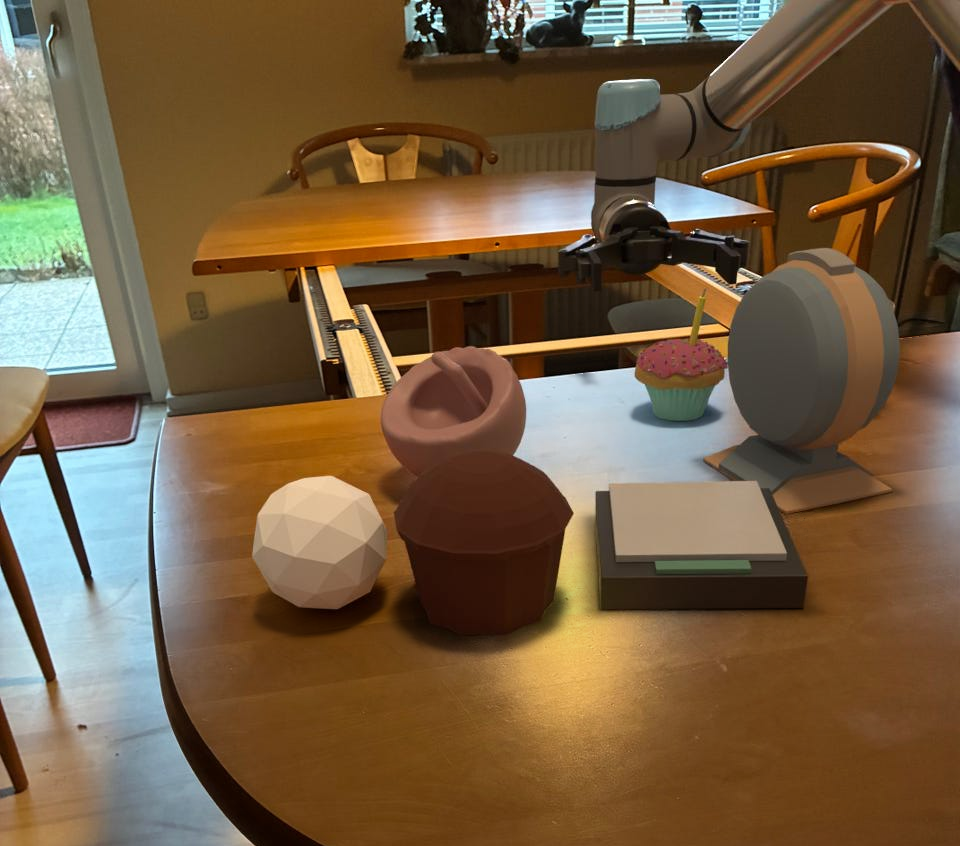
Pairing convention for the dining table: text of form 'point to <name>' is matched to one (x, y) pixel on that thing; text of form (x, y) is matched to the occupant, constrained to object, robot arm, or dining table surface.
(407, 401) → the mortar and pestle
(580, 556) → the dining table surface
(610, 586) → the scale
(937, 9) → the robot arm
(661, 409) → the cupcake
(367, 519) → the white geodesic ball
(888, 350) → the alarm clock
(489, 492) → the muffin
